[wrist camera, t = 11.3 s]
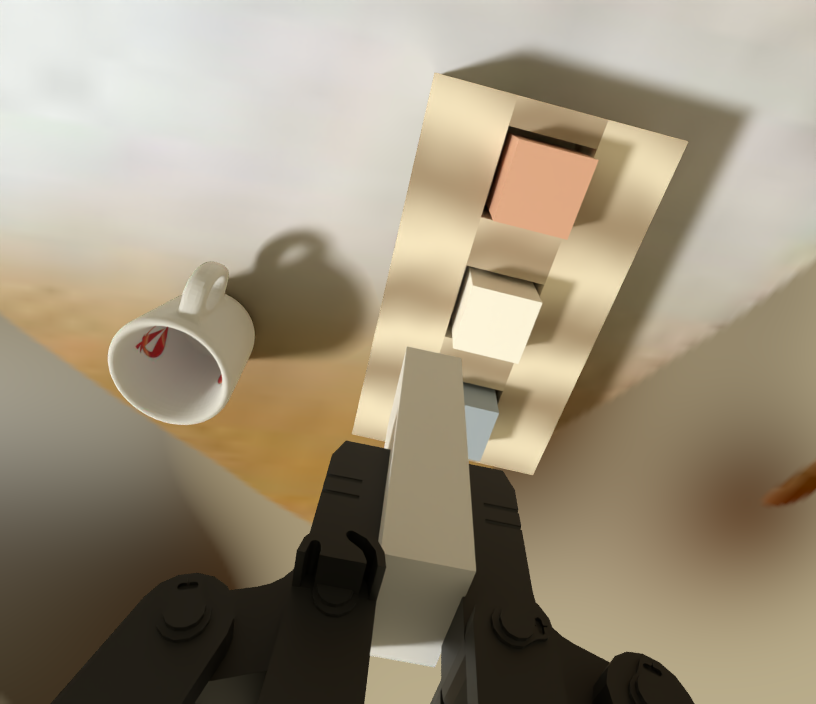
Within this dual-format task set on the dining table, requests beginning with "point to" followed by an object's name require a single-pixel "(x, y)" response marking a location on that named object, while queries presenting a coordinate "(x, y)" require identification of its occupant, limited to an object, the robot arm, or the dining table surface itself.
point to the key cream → (494, 314)
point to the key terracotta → (539, 186)
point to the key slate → (479, 417)
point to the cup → (184, 351)
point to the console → (511, 256)
